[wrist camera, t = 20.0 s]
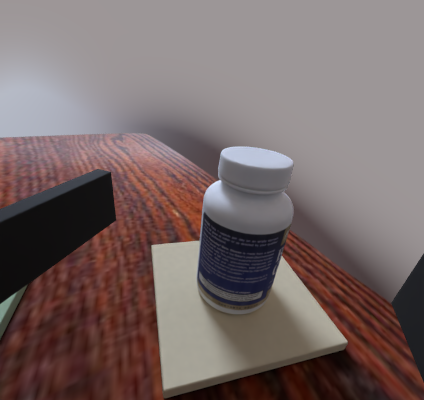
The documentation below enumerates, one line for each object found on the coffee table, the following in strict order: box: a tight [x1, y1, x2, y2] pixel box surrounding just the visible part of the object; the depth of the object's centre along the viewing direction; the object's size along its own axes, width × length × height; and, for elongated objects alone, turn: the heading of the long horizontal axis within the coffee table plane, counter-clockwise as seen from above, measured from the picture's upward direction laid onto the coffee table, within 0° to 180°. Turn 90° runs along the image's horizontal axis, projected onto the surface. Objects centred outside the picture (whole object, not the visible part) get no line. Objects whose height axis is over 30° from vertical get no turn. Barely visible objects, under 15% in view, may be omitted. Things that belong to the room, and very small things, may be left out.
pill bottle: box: [196, 147, 294, 314], centre depth 15 cm, size 5×5×10 cm
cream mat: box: [152, 241, 348, 398], centre depth 18 cm, size 11×11×1 cm
